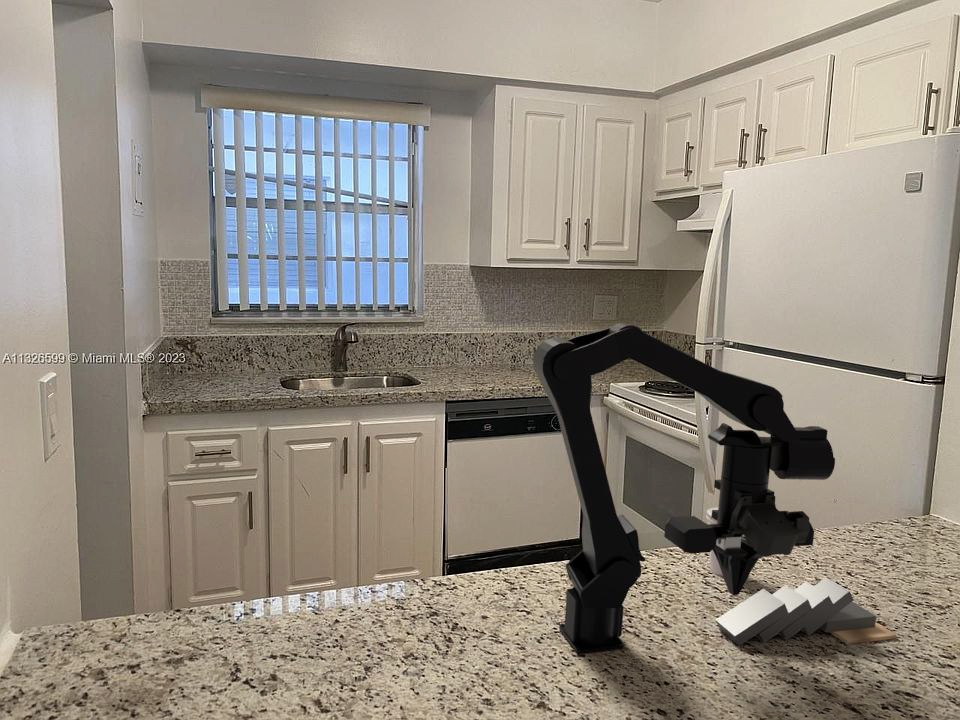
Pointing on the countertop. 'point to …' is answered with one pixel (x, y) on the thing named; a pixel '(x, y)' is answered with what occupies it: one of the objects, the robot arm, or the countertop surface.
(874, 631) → the pad
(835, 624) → the tile
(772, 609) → the tile
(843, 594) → the tile
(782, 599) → the tile
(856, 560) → the countertop surface
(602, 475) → the robot arm
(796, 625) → the tile
